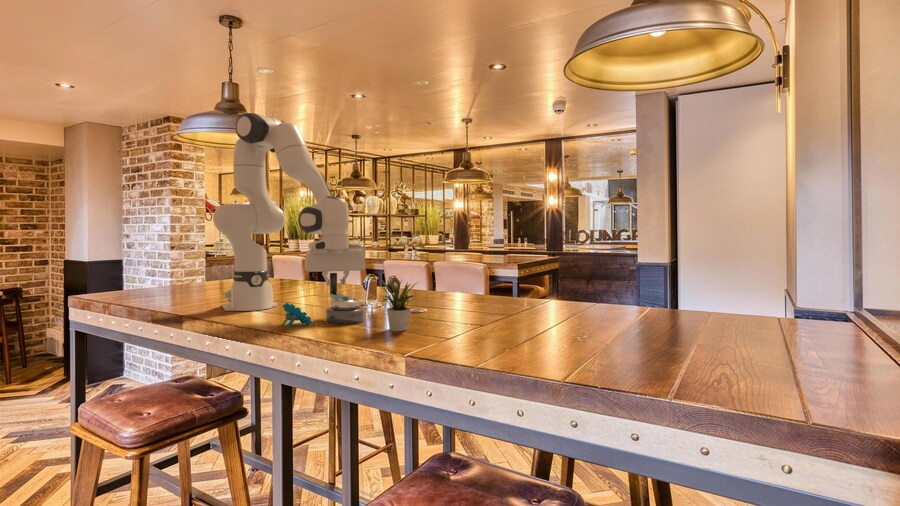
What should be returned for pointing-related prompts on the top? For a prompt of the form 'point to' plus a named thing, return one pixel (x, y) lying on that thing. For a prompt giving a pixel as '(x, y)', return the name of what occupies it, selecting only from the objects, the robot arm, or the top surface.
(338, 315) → the nut housing
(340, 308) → the crank handle
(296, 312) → the toy dinosaur
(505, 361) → the top surface
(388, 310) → the house plant
